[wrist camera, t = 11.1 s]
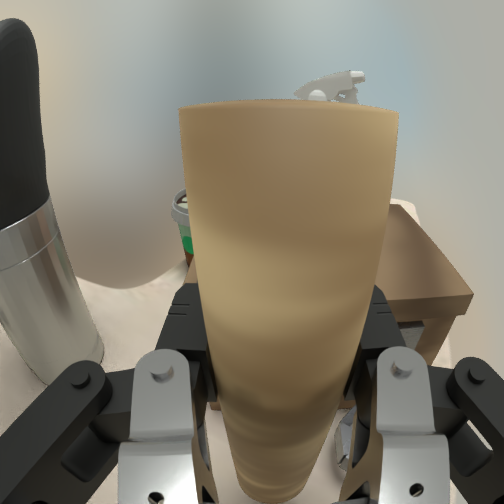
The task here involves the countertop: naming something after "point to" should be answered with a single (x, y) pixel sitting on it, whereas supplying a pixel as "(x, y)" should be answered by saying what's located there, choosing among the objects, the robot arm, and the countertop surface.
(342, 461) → the hasp
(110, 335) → the countertop surface
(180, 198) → the food container
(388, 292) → the toolbox
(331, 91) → the spray bottle
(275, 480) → the tan wooden cylinder
